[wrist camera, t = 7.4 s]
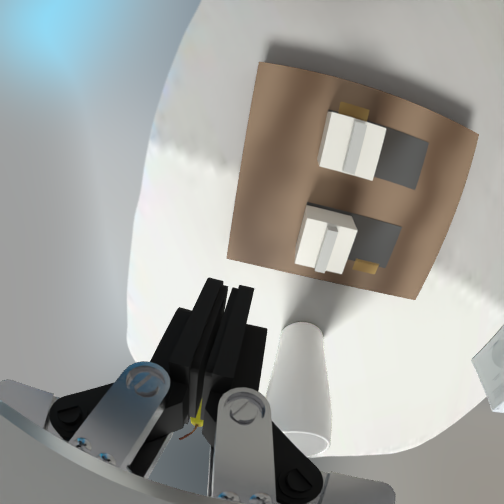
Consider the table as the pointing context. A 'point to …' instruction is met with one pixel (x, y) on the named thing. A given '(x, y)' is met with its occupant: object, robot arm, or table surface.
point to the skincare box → (492, 370)
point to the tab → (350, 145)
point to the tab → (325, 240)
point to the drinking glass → (301, 389)
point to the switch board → (347, 180)
